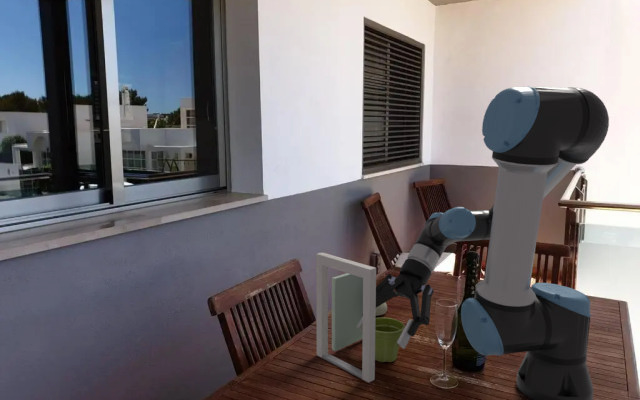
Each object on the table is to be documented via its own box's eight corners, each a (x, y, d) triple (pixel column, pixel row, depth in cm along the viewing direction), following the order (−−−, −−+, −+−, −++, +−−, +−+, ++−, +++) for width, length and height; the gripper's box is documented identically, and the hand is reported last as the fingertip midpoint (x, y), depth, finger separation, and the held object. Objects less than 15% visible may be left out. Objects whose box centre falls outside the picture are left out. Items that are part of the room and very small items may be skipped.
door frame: (374, 379, 114) (376, 267, 110) (368, 382, 113) (369, 269, 109) (322, 352, 128) (322, 252, 124) (316, 355, 126) (316, 253, 122)
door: (362, 332, 137) (363, 265, 134) (369, 335, 135) (370, 267, 133) (327, 348, 128) (327, 276, 125) (335, 351, 126) (335, 278, 123)
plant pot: (379, 345, 132) (379, 314, 130) (410, 356, 126) (411, 323, 124) (358, 358, 125) (358, 325, 123) (391, 370, 119) (391, 335, 117)
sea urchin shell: (389, 301, 159) (387, 290, 153) (386, 325, 155) (384, 314, 148) (361, 298, 161) (358, 287, 155) (357, 321, 157) (354, 311, 151)
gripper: (465, 283, 123) (427, 361, 115) (389, 264, 141) (351, 330, 134) (454, 267, 119) (413, 346, 111) (377, 249, 137) (337, 316, 129)
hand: (379, 337), depth 122 cm, fingers open, 12 cm apart
